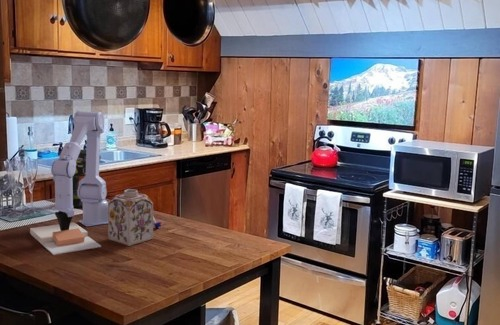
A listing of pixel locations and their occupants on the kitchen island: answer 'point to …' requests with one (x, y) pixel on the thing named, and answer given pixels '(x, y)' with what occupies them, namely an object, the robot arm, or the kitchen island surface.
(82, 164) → the power drill
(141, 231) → the floral ceramic jar
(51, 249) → the mat
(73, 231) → the pink flat block
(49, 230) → the white flat slab
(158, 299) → the kitchen island surface
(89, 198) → the robot arm
